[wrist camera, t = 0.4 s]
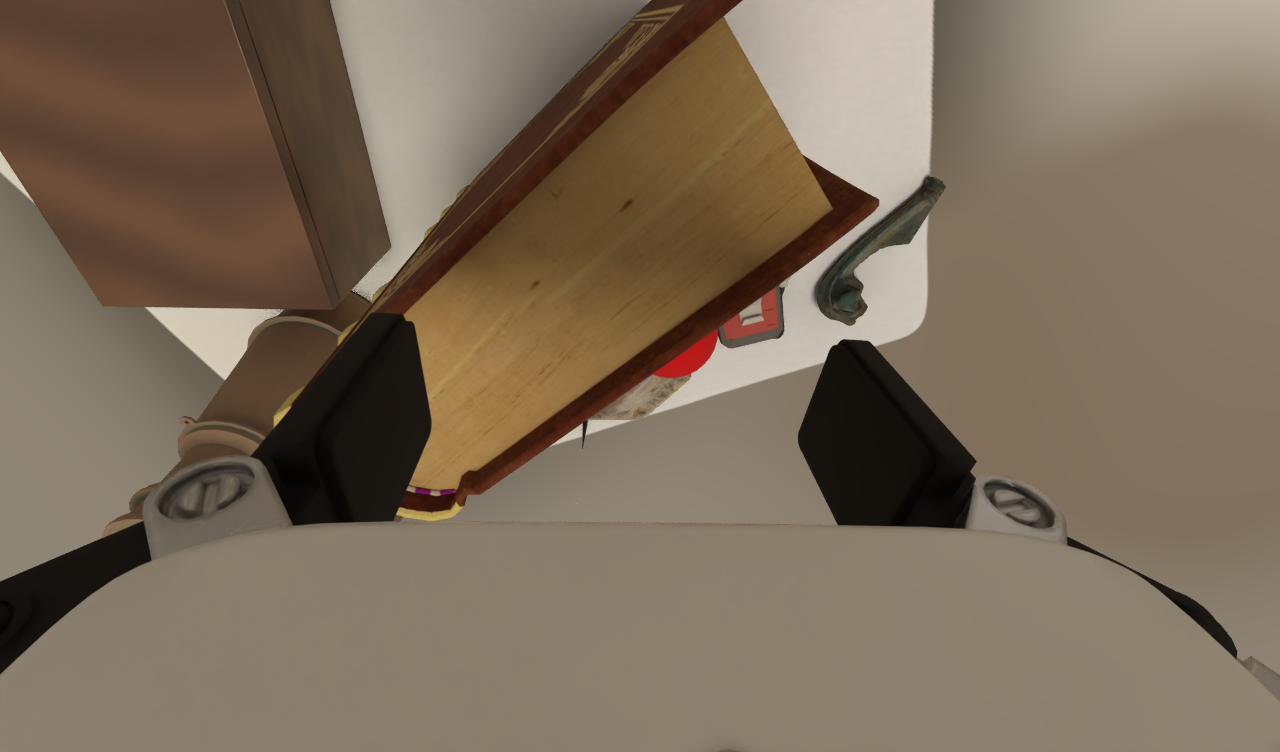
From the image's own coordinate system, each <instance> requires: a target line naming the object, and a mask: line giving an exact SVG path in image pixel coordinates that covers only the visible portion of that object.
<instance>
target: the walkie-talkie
mask: <svg viewBox="0 0 1280 752" xmlns="http://www.w3.org/2000/svg"><path fill="white" fill-rule="evenodd" d="M790 277H791V276H790ZM790 277H789V278H787V279H786V280H785V281H783V282H782V283H781V284H779V285H778V286H777V287H775V288H774V289H772V290H771V291H770V292H768V293H767V294H765V295H764V296H763V297H761V298H760V299H758V300H757V301H756V302H754V303H753V304H751V305H750V306H749V307H747V308H746V309H744V310H743V311H742V312H740V313H739V314H737V315H736V316H735V317H733V318H732V319H730V320H729V321H727V322H726V323H725V324H723V325H722V326H720V327H719V328H718V337H719V339H720V342H721V344H723V345H724V346H726V347H728V348H736V347H740V346H744V345H749V344H753V343H757V342H761V341H765V340H769V339H778V338H780V337H781V336H782V335H783V333H784V318H783V305H782V294H783V292H784V289H785V287H787V282H788V280H789V279H790Z"/></svg>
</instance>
